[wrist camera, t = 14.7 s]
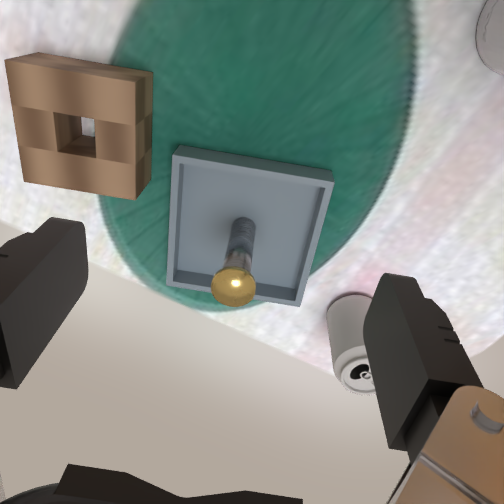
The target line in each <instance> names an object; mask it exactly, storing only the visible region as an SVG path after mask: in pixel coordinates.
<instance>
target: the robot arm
mask: <svg viewBox="0 0 504 504" xmlns="http://www.w3.org/2000/svg"><path fill="white" fill-rule="evenodd" d="M476 42H477V49H478V52H479V55H480V58H481V59H482V60H483V62H484V63H485V65H486V66H487V67H489V68H490V69H491V70H492V71H494V72H497V73H499V74H501V75H504V0H488V1H487V2H486V4H485V6H484V8H483V10H482V12H481V15H480V18H479V22H478V25H477V33H476ZM87 280H88V259H87V246H86V234H85V227H84V224H83V223H82V222H79V221H73V220H67V219H61V218H55V217H51V218H49V219H48V220H47V221H46V222H45V223H43V224H42V225H41V226H40V227H39V228H38V229H37V230H36V231H35V232H34V233H29V232H27V233H25V234H22V235H20V236H18V237H16V238H13V239H11V240H9V241H7V242H6V243H5V244H4V245H3V246H2V247H0V387H4V388H11V389H17V388H18V387H19V385H20V384H21V383H22V381H23V380H24V378H25V377H26V375H27V374H28V372H29V370H30V369H31V368H32V366H33V365H34V363H35V362H36V361H37V359H38V358H39V356H40V355H41V353H42V352H43V350H44V349H45V347H46V346H47V344H48V343H49V342H50V340H51V339H52V337H53V336H54V334H55V333H56V331H57V330H58V328H59V327H60V326H61V324H62V323H63V321H64V320H65V318H66V317H67V315H68V314H69V312H70V311H71V309H72V308H73V307H74V305H75V304H76V302H77V301H78V299H79V298H80V296H81V295H82V293H83V291H84V290H85V287H86V284H87ZM363 339H364V344H365V348H366V352H367V357H368V361H369V365H370V370H371V374H372V378H373V382H374V387H375V391H376V395H377V399H378V404H379V408H380V413H381V417H382V421H383V425H384V430H385V434H386V438H387V443H388V447H389V449H396V450H402V451H407V452H408V455H409V459H410V462H409V464H408V466H407V467H406V469H405V470H404V472H403V474H402V476H401V477H400V479H399V481H398V483H397V484H396V486H395V488H394V490H393V492H392V493H391V495H390V497H389V499H388V501H387V502H386V504H504V399H503V398H502V397H500V396H499V395H497V394H495V393H493V392H491V391H489V390H487V389H484V387H483V385H482V383H481V381H480V379H479V377H478V375H477V373H476V372H475V370H474V367H473V366H472V364H471V362H470V360H469V358H468V356H467V354H466V352H465V350H464V348H463V346H462V344H460V340H459V338H458V336H457V334H456V332H455V331H453V327H452V325H451V323H450V321H449V319H448V317H447V315H446V313H445V312H444V311H443V310H442V309H441V308H440V307H439V306H438V305H437V304H436V303H435V302H434V301H433V300H432V299H427V298H424V296H423V293H422V291H421V289H420V287H419V285H418V283H417V281H416V279H415V278H413V277H408V276H402V275H396V274H390V273H384V274H383V275H382V277H381V279H380V281H379V283H378V286H377V288H376V291H375V293H374V296H373V298H372V301H371V303H370V306H369V309H368V311H367V314H366V316H365V320H364V325H363ZM0 504H303V499H298V498H291V497H285V496H278V495H271V494H265V493H258V492H252V491H239V492H231V493H222V494H214V495H206V496H199V497H190V498H183V497H179V496H176V495H174V494H172V493H170V492H167V491H165V490H163V489H161V488H159V487H157V486H154V485H152V484H150V483H148V482H146V481H144V480H141V479H139V478H137V477H135V476H133V475H130V474H128V473H125V472H119V471H112V470H106V469H99V468H93V467H85V466H79V465H72V464H68V465H67V467H66V469H65V471H64V473H63V476H62V478H61V480H60V482H59V483H55V484H49V485H46V486H41V487H37V488H34V489H31V490H28V491H25V492H22V493H20V494H17V495H15V496H13V497H11V498H8V499H6V498H5V494H4V489H3V485H2V481H1V475H0Z"/></svg>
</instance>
